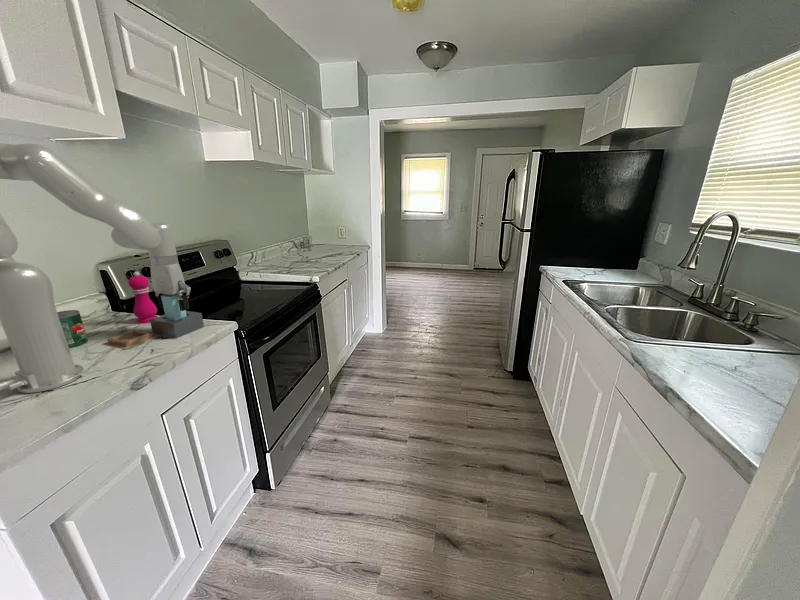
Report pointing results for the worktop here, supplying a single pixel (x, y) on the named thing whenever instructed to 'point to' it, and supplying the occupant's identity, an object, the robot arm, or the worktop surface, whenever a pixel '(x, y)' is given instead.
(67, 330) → the canned tomato
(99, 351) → the worktop surface
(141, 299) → the pepper mill
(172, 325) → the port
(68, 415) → the worktop surface
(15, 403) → the worktop surface
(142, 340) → the square wooden tray
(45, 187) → the robot arm
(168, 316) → the plug
